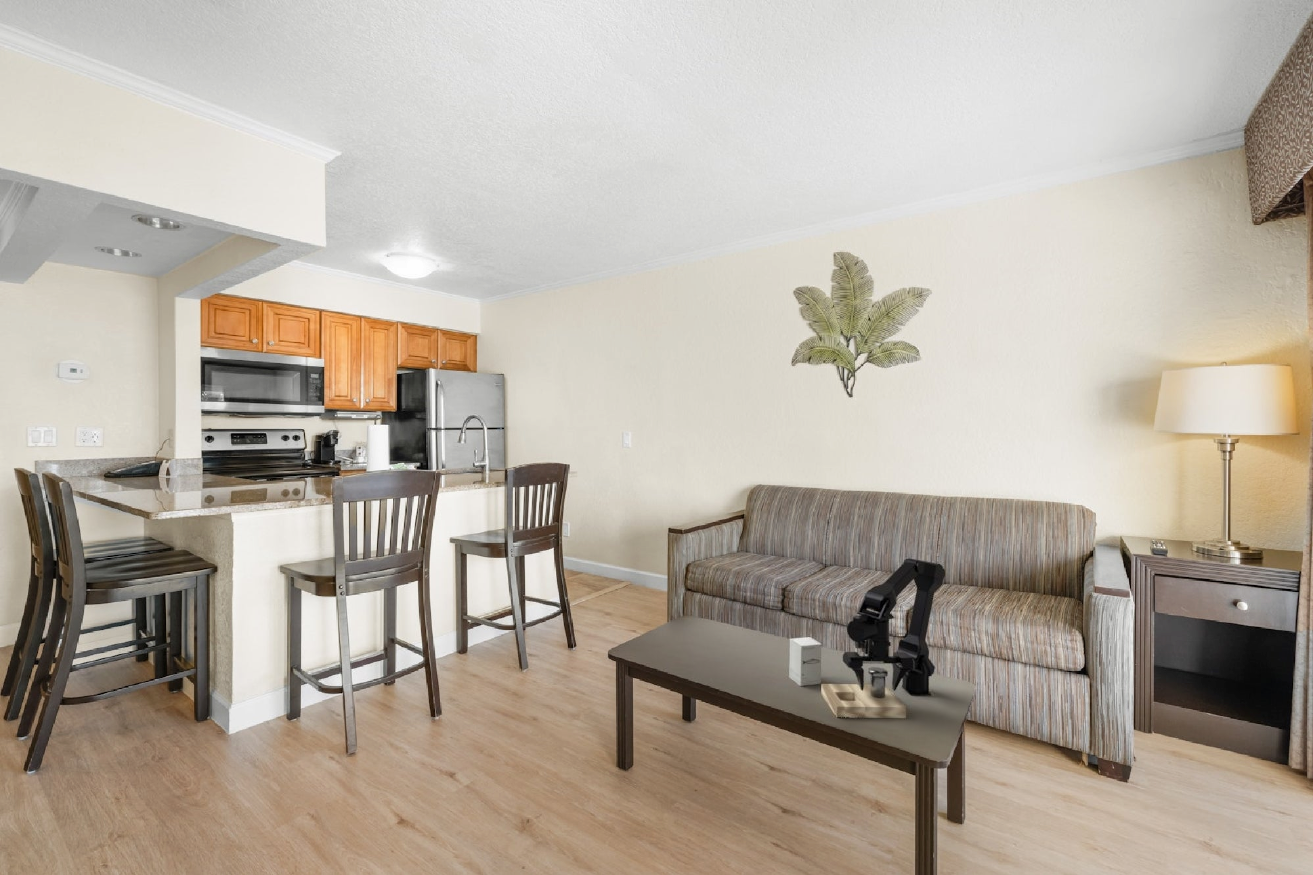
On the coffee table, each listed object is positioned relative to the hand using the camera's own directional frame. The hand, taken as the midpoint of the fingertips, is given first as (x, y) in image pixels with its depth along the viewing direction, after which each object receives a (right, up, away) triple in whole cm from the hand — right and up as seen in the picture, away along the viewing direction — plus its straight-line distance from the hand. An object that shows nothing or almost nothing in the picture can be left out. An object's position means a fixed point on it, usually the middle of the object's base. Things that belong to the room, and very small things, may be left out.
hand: (877, 690), depth 170 cm
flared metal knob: (0, -1, 0) cm, 1 cm away
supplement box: (-17, -5, +17) cm, 24 cm away
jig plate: (-5, -4, 0) cm, 6 cm away
